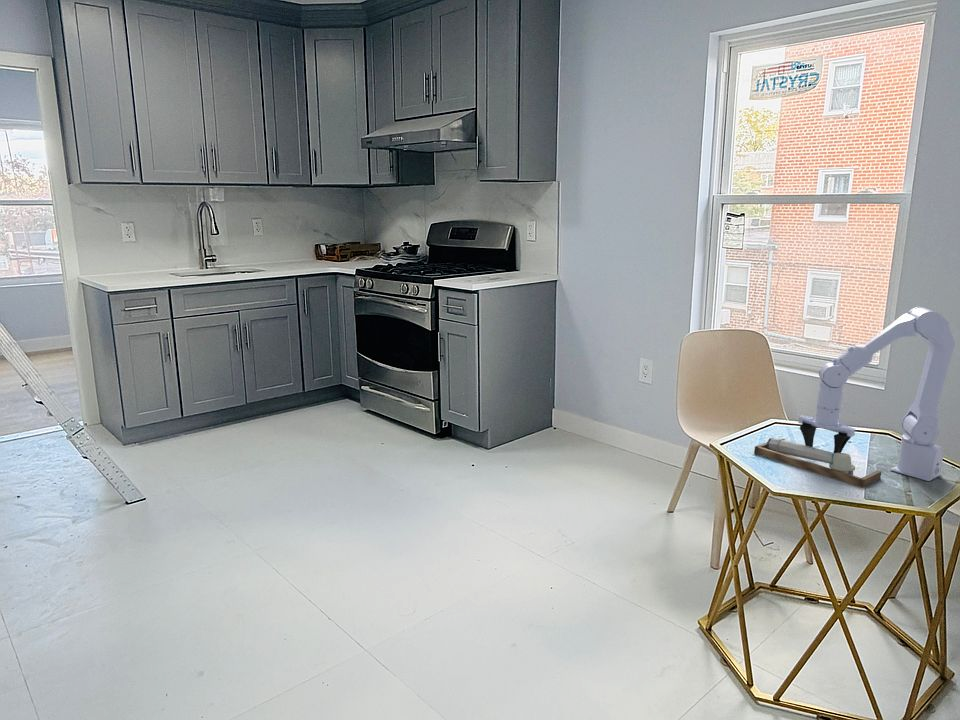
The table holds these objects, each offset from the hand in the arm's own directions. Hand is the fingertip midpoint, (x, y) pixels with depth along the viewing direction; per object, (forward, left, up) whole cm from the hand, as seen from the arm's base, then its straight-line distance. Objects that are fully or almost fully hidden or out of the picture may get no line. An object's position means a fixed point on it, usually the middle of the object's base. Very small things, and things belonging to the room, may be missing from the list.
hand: (822, 454), depth 190 cm
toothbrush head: (+2, +4, -3) cm, 5 cm away
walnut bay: (0, +4, -2) cm, 4 cm away
